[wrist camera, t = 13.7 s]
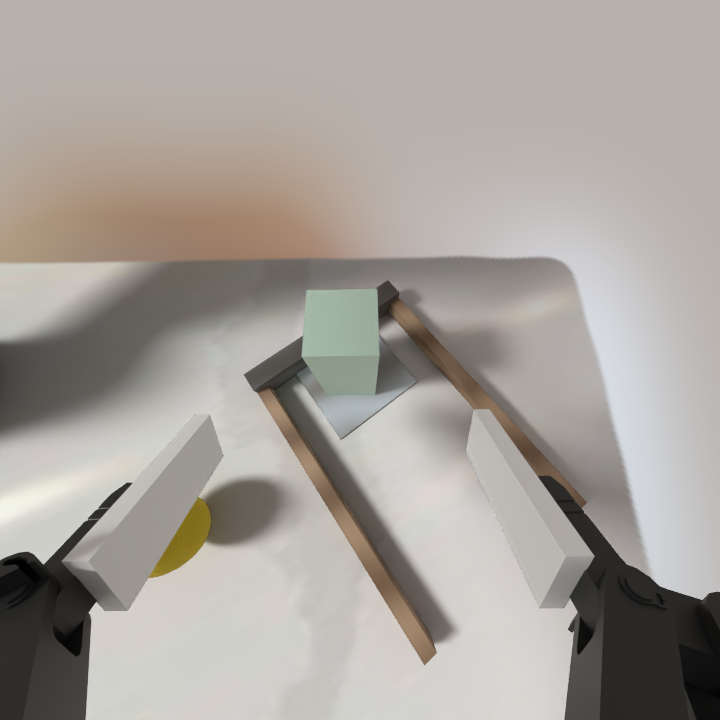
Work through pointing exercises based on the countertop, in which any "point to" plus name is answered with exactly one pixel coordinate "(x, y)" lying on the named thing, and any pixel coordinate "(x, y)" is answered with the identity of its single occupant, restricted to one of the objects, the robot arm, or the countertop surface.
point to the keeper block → (342, 340)
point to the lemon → (185, 539)
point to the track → (356, 410)
